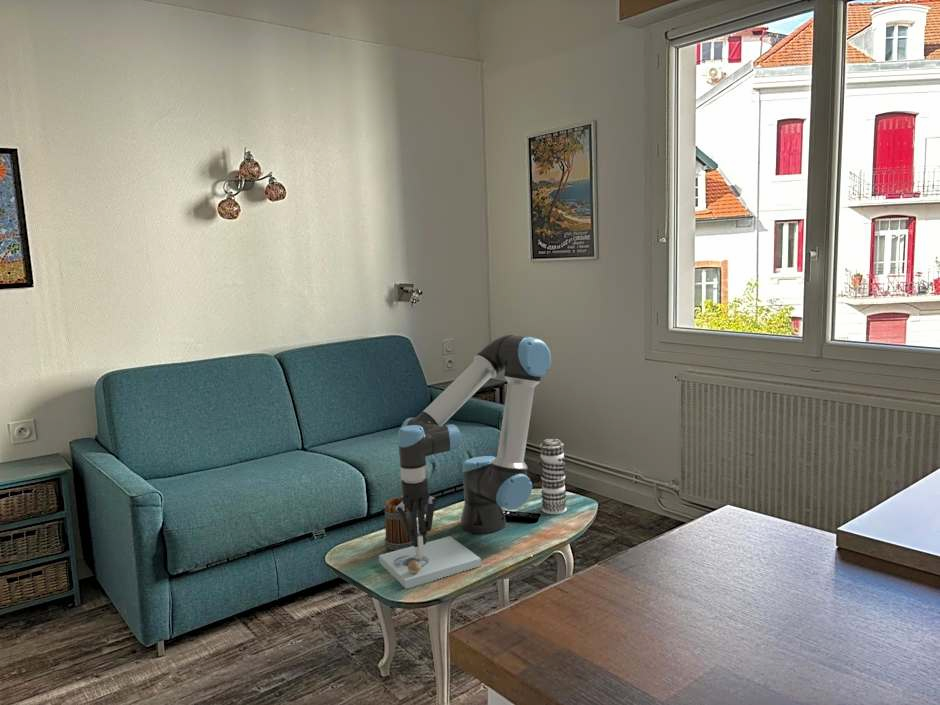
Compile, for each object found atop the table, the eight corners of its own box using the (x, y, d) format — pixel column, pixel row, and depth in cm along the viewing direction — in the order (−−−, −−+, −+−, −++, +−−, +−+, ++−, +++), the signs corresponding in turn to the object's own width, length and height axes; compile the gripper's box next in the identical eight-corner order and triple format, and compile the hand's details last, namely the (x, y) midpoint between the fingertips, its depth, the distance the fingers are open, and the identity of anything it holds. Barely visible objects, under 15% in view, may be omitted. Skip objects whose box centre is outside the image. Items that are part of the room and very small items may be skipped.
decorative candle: (561, 503, 258) (558, 435, 255) (571, 512, 250) (569, 442, 246) (537, 507, 256) (534, 438, 252) (547, 516, 247) (544, 445, 243)
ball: (413, 568, 214) (416, 556, 214) (418, 572, 211) (420, 560, 211) (402, 567, 213) (405, 555, 213) (407, 572, 210) (409, 560, 210)
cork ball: (417, 568, 207) (416, 557, 207) (422, 573, 204) (422, 561, 203) (406, 572, 205) (405, 560, 205) (411, 577, 202) (410, 564, 202)
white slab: (450, 543, 229) (449, 536, 229) (481, 566, 212) (480, 558, 212) (379, 563, 218) (378, 555, 218) (406, 588, 201) (405, 580, 200)
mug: (413, 554, 223) (410, 507, 221) (380, 553, 225) (377, 507, 223) (426, 534, 238) (423, 490, 236) (395, 533, 240) (392, 489, 238)
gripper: (429, 471, 216) (434, 546, 219) (388, 480, 210) (394, 557, 213) (440, 477, 209) (445, 554, 213) (398, 487, 203) (404, 566, 207)
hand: (420, 555), depth 213 cm, fingers closed
